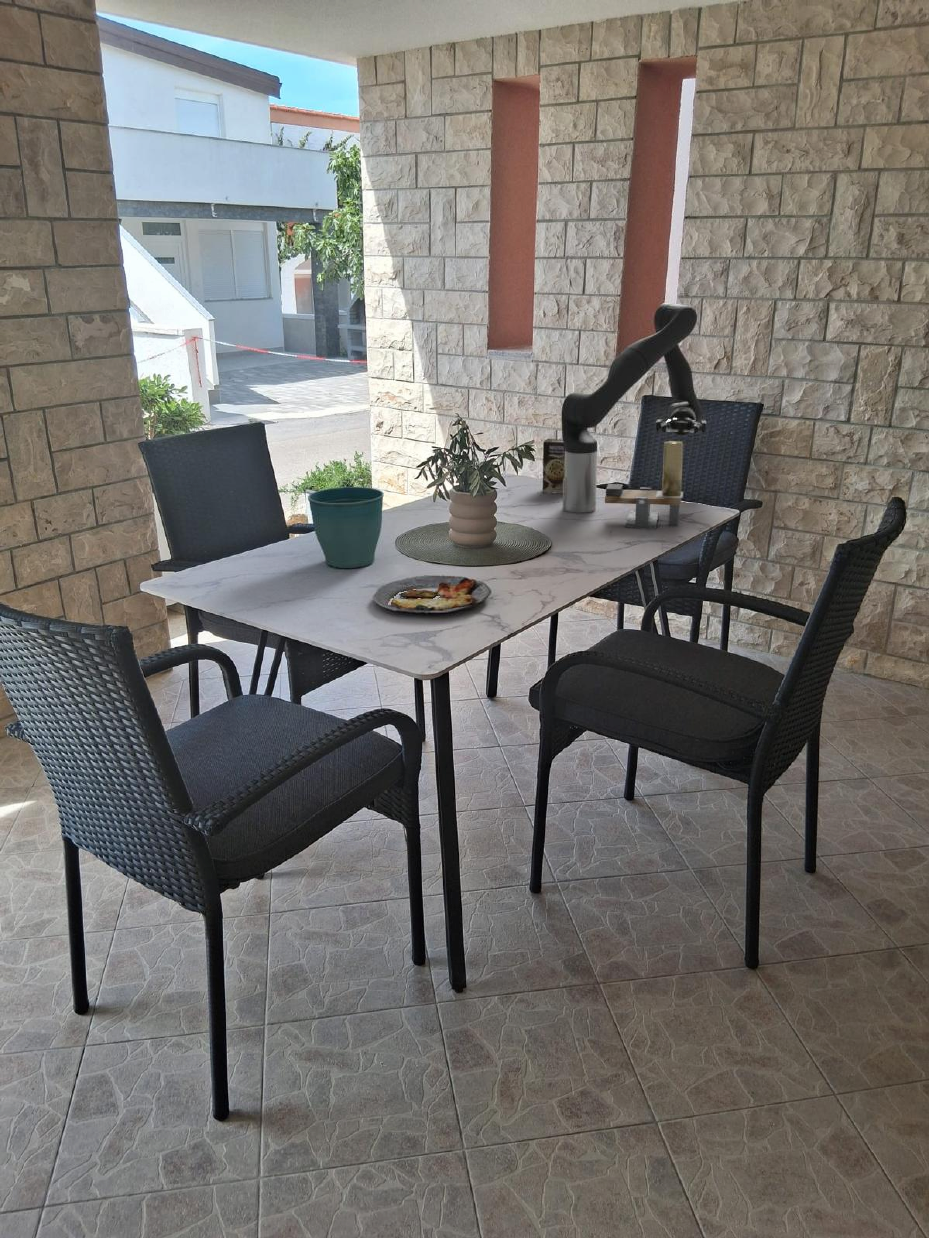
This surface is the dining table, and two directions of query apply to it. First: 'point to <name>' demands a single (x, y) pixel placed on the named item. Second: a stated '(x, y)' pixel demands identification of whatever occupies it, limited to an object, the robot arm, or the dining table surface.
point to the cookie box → (553, 465)
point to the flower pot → (347, 524)
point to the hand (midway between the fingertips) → (679, 429)
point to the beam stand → (649, 514)
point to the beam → (629, 496)
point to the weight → (672, 468)
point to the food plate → (433, 594)
